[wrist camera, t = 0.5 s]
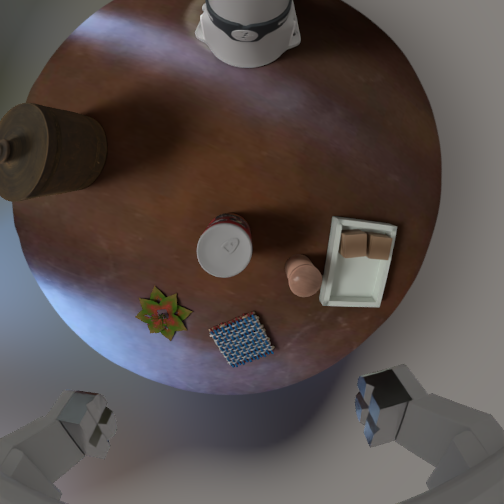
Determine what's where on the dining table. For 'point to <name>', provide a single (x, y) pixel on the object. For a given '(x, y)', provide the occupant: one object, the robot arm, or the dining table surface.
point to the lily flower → (159, 323)
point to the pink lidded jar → (302, 275)
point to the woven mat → (241, 339)
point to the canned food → (225, 246)
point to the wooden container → (48, 152)
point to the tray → (354, 268)
